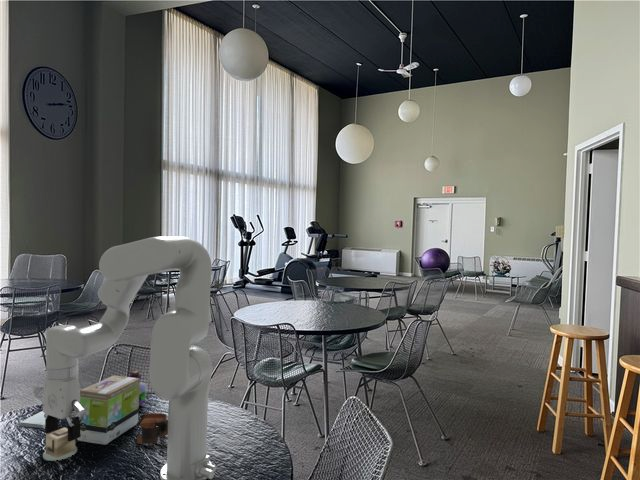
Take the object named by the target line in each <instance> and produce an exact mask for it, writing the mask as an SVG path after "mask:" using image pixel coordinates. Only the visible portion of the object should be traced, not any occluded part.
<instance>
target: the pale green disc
mask: <svg viewBox="0 0 640 480" xmlns="http://www.w3.org/2000/svg"><path fill="white" fill-rule="evenodd" d="M76 453H78V447H77V446H76V445H75V450H74V451H72V452H69V453H67V454H65V455H62V456H60V457H58V458H56V457H54V456H51V455H49V454H47V453H46V450H45V451H44V452H43V453H42V458H43V460H45V461H49V462H55V461H56V460H58V461H63V460H65V459H68V457H69V458H71V457H72V455H73V456H75V454H76ZM62 459H63V460H62ZM56 462H57V461H56Z"/></svg>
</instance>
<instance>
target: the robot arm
mask: <svg viewBox="0 0 640 480" xmlns="http://www.w3.org/2000/svg"><path fill="white" fill-rule="evenodd" d="M212 266H213V265H212V259H211V257H210V254H209V252H208V251H207V249H206V248H205V247H204V245H203V244H202V243H200V242H199V241H197V240H196V239H193V238H190V237H188V236H180V235H177V236H175V235H173V236H153V237H148V238H143V239H140V240H135V241H131V242H128V243H123V244H120V245H115V246H114V245H113V246H111V247H110V248H108V249H107V250H105V251H104V253H103V254H102V255H101V257H100V259H99V262H98V268H99V272H100V274H101V276H102V277H103V278H105V279H104V280H103V282H102V284H101V285H100V287H99V289H98V290H97V297H98V300H100V302H102V304H104V305H105V306H106V307H107V308H106V310H105V311H104V313H103V315H102V316H101V318H100V319H99V321H98V323H94V324H92V325H87V326H84V327H80V328H78V327H77V326H76V325H72V324H62V325H55V326H52V327H49V328H48V329H47V330H46V332H45V333H46V334H45V335H46V336H45V339H46V340H45V343H46V344H45V345H46V346H45V347H46V349H45V350H46V351H45V352H46V353H45V358H46V359H45V361H46V363H45V364H46V366H45V367H46V368H45V369H46V370H45V372H46V374H45V375H46V376H45V380H44V384H43V390H42V391H43V392H42V393H43V394H42V399H41V401H40V402H41V404H42V411H43V412H44V413H45V414H44V417H45V418H46V419H45V427H44V428H45V431H44V432H45V434H49V433H51V432H54V431H56V430H59V420H65V419H66V421H67V422H68V425H67V429H68V441H72V440H75V441H76V439H77V438H79V437H80V423H81V422H82V420H83V418H84V417H83V416H84V413H85V409H84V408H83V407H82V406H81V398H80V390H81V387H80V381H79V359H83V358H87V357H89V356H91V355H94V354H96V353H99V352H102V351H104V350H107V349H109V348H111V347H112V346H113V345H115V343H116V342H117V341H118V340H119V338H120V337H121V335H122V333H123V332H124V331H125V329H126V327H127V325H128V323H129V320H130V314H131V313H130V311H131V309H130V305H131V303H132V302H133V300H134V298H135V296H136V295H137V293H138V292H139V291H140V289H141V287H143V285H144V282H145V281H146V279H147V278H148V276H149V275H155V274H159V273H165V272H172V271H179V277H178V279H177V281H176V286H175V291H174V294H175V295H174V307H173V310H171V311H168V312H166V313H163V314H162V315H161V316H159V318H158V319H157V320H156V321H155V323H154V325H153V327H152V330H151V334H150V351H149V352H150V353H149V371H148V372H149V384H150V387H151V389H152V392H153V393H154V394H155V396H157V397H158V398H159V399H161V400H164V401H168V409H167V410H168V411H167V412H168V414H167V420H168V434H167V443H166V444H167V445H166V446H167V449H166V450H167V451H166V453H167V454H166V455H167V456H166V463H165V464H164V465H163V466H162V468H160V471H159V472H160V473H159V477H160V480H207V479H210V480H211V479H213V478H214V475H215V472H216V471H217V468H218V467H217V465H215V464H212V462H211V460H210V455H209V454H207V446H208V444H207V442H208V441H207V438H208V410H209V409H208V408H209V392H210V384H211V378H212V373H213V363H212V359H211V356H210V355H209V353H208V352H207V351H206V350H205V349H204V348H201V347H198V346H193V345H196V344H198V343H199V342H201V341H203V340H204V339H205V338H206V337H207V335H208V334H209V329H210V328H209V326H210V311H211V310H210V309H211V286H212V285H211V284H212V274H213V273H212V272H213V269H212ZM72 417H74V418H73V419H72ZM58 418H59V419H58Z"/></svg>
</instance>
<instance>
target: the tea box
mask: <svg viewBox="0 0 640 480" xmlns="http://www.w3.org/2000/svg"><path fill="white" fill-rule="evenodd" d="M140 382H141V379H139V378H132V377H128V376H123V375H122V376H121V375H111V376H109V377H106V378H104V379H103V380H100V381H98V382H96V383H93V384H91V385H89V386H87V387H85V388H83V389H80V398H81V406H82V407H83V408H84V409H85V413H84V416H83V417H84V418H83V420H82V422H81V423H80V437H79V438H77V441H79V442H84V443H90V444H97V445H98V444H99V445H104V446H105V445H108V444H109V443H111V442H112V441H113V440H115V439H116V438H119V437H120V436H121V435H122V434H125V433H126V432H128V431H129V430H130V429H132V428H133V427H135V426H137V425H136V424H137V422H138V421H139V410H140V408H139V389H140Z"/></svg>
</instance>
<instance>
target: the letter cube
mask: <svg viewBox="0 0 640 480" xmlns="http://www.w3.org/2000/svg"><path fill="white" fill-rule="evenodd" d="M75 446H76V439H75V440H72V441H68V427H62V428H58V429H57V430H55V431H53V432H50V433H45V451H46V453H47V454H49V455H51V456H54V457H56V458H58V457H60V456H62V455H65V454H67V453H69V452H72V451H74V450H75Z"/></svg>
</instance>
